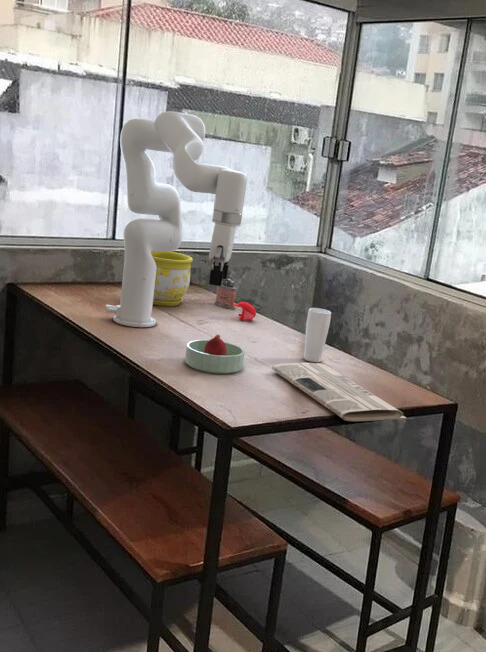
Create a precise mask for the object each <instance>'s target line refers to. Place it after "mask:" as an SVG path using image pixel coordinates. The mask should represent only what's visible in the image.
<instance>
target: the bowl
mask: <svg viewBox="0 0 486 652" xmlns="http://www.w3.org/2000/svg"><path fill="white" fill-rule="evenodd" d="M209 340H210V339H195V340H191V341H189V342H187V343H186V347H185V356H184V362H185V364H187V365H188V366H189V367H190V368H192V369H195V370H197V371H200V372H204V373H210V374H216V375H217V374H220V375H221V374H222V375H224V374H226V375H228V374H234V373H237V372H239V371H241V370H242V369H243V367H244V360H245V355H246V354H245V353H246V351H245V349H244V348H243V347H241V346H239V345H237V344H235V343H232V342H227V341H223V342H224V343H225V345H226V349H227V351H226V355H225V356H219V355H211V354H206V353H205V351H204V350H205V346H206V344H207V342H208V341H209Z"/></svg>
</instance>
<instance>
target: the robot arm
mask: <svg viewBox="0 0 486 652" xmlns="http://www.w3.org/2000/svg"><path fill="white" fill-rule="evenodd" d="M205 137H206V125H205V123H204V121H203V119H201V118H200V117H198V116H197V115H195V114H191V113H185V112H180V111H179V112H178V111H171V110H168V111H164V112H161V113H159V114H158V115H157V116H156V117H155V119H148V118H132V119H131V118H130V119H129V120H127V121H126V122H125V123H124V124H123V126H122V128H121V131H120V136H119V145H120V146H119V147H120V151H121V155H122V159H123V163H124V169H125V187H126V201H127V206H128V210H130V211H131V212H132V213H135V214H137V215H149V216H158V219H155V218H142V217H141V218H139V217H138V218H133V219H131V220H129V221H127V223H126V224H125V225H124V228H123V245H124V259H123V271H122V280H121V289H120V291H121V292H120V300H119V305H118V304H117V305H112V304H105V308H104V310H105V312H107V313H109V314H110V313H111V314H112V313H113V314H114V315H113V317H112V319H113V322H114V323H116V324H119V325H122V326H125V327H133V328H150V327H154V326H156V324H157V320H156V319H155V318H154V317H153V316H152V313H153V305H154V304H153V296H154V287H155V278H156V263H155V261H154V259H153V257H152V255H151V252H152V251H164V252H175V251H176V250H178V249H179V248H180V246H181V243H182V240H183V239H182V238H183V228H182V227H183V226H182V210H181V209H182V207H181V206H182V205H181V198H180V194H179V191H178V190H177V189H176V188H175V187H174V186H173V185H171V184H169V183H162V182H161V183H160V182H157V180H156V167H155V164H154V161H153V160H152V159H151V157H150V155H149V154H148V153H147V151H146V150H148V151H156V152H163V153H164V152H165V153H169V154H170V153H172V154H173V156H172V169H173V173H174V175H175V177H176V178H177V180H178V181H179V182H180V183H181V184H182V185H183V187H184V188H185V189H187V190H188V191H190V192H193V193H199V194H210V195H214V203H213V210H212V216H211V222H212V223H214V226H213V231H212V236H211V242H210V246H209V254H208V260H209V261H212V264H211V269H210V273H209V280H208V284H209V285H211V286H217V287H218V286H221V285H222V283H223V282H222V279H228V273H229V272H228V271H229V266H230V265H229V262H230V259H231V258H232V253H233V249H234V243H235V236H236V229H237V227H241V225H242V218H243V211H244V204H245V198H246V190H247V183H248V177H247V174H246V173H244V172H243V171H239V170H234V169H232V168H230V167H229V166H224V165H217V164H211V163H201V162H197V160H198V159H199V158H200V157H201V155H202V154H203V152H204V140H205Z"/></svg>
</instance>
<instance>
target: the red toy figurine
mask: <svg viewBox="0 0 486 652" xmlns="http://www.w3.org/2000/svg"><path fill="white" fill-rule="evenodd" d="M234 307H237V308H241V313H238V314H237V315H238V317H239V320H240V321H248V322H250V321H252V320H253V319H254V318H255V317H256V316H257V311H256V308H255V307H254V306H253V305H252V304H251V303H249V302H246V301H240V302H238V303H234Z"/></svg>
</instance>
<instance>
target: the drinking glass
mask: <svg viewBox="0 0 486 652" xmlns="http://www.w3.org/2000/svg"><path fill="white" fill-rule="evenodd" d="M331 319H332V312H331V310H328V309H326V308H325V309H324V308H319V307H309V308H308V311H307V317H306V323H305V335H304V336H305V337H304V351H303V359H304V360H305V361H307V362H308V363H320V362H321V361H323V353H324V349H325V346H326V342H327V337H328V335H329V334H328V333H329V329H330V325H331V321H332V320H331Z"/></svg>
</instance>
